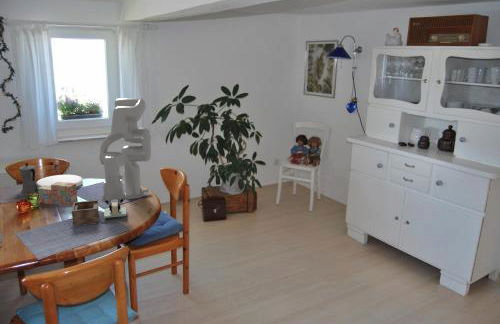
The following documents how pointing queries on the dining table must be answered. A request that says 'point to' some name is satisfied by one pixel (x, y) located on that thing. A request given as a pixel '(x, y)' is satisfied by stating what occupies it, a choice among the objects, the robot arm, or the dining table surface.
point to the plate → (60, 180)
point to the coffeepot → (28, 178)
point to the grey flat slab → (113, 219)
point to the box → (85, 212)
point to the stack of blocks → (58, 194)
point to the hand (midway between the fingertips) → (115, 211)
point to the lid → (114, 211)
